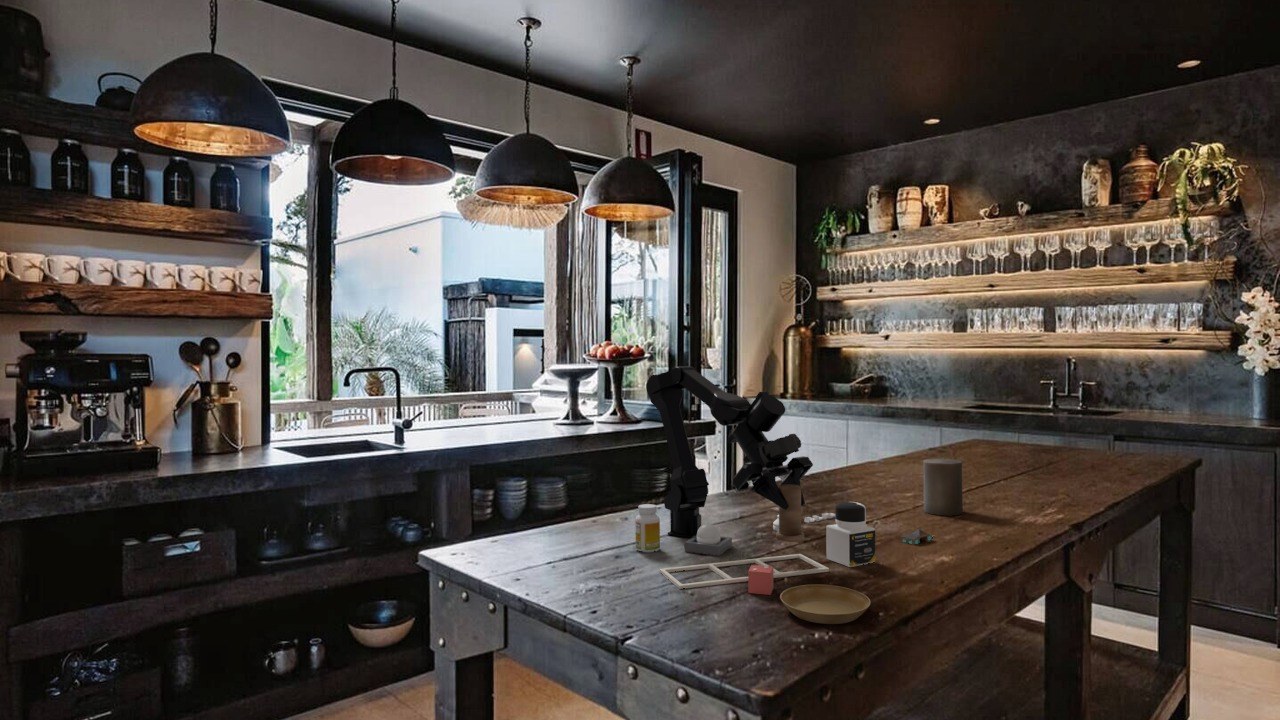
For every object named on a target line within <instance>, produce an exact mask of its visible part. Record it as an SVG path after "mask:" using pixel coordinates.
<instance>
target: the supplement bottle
mask: <svg viewBox="0 0 1280 720" xmlns="http://www.w3.org/2000/svg"><path fill="white" fill-rule="evenodd" d="M637 507H638V510H637V511H638V515H636V517H635V550H636V549H637V550H639V551H644V552H643V553H655V552H654V551H656V552H658V551H659V550H660V548H661V532H660V531H661V528H660V527H661V523H660V522H661V521H660V517H659V515H658V514H656V513H657V509H658V508H657V505H656V504H649V503H645V504H639V505H638V506H637ZM637 550H636V551H637ZM639 551H638V552H639Z"/></svg>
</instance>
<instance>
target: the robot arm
mask: <svg viewBox="0 0 1280 720" xmlns="http://www.w3.org/2000/svg"><path fill="white" fill-rule="evenodd" d="M645 388H646V391H647V395H648V397H649V401H650V403H651V404H652V406H654V407H655V409H656V410H658V411H659V414H660V419H661V422H662V426H663V431H664V433H665V439H666V443H667V448H668V451H669V456H670V459H671V463H672V467H673V470H672V473H671V477H670V481H669V482H670V491H669V492H668V493H667V494H666V496H665V497H664V499H663V505H664V509H665V510H668V511H670V515H669V516H670V517H669V518H670V522H669V523H670V525H669V526H670V531H668V532H667V535H668V536H674V537H683V538H690V539H691V538H693V537H694V536H696V535H697V531H698V529H699V528H700V526H702V514H700V508H704V507H705V505H706V500H707V497H708V494H709V486H710V483H709V482H708V478H707V475H706V470H705V468H699V467H697V465H696V464H695V462H694V459H693V455H692V451H691V447H690V444H689V440H688V435H687V431H686V427H685V424H684V420H683V415H682V410H681V407H680V406H681V402H682V399H683V396H684V395H683V394H684V392H683V390H687V391H688V392H689V393H691V394H692V395H693V396H695V397H696V398H697V399H698V400H700V401H701V402H702V403H703V404H705V405H706V406H707V407H708V408H709V410H710V414H711V416H712V417H713V418H714V419H715V420H716V421H717V423H718V424H719V425H721V426H724V427H725V426H726V427H727V426H735V425H736V426H735V428H733V429H731V430H729V431H728V436H727V443H728V444H731V443H733V444H734V443H737V444H738V445H739V447H740V449H741V450H742V452H743V453H744V455H745V457H744V458H743V461H744V462H745V464H743V465H742V466H741V467H740V469H739V470H738V471H737V472H736V474H735V475H734V476H733V479H732V484H733V486H734V488H735V490H736V491H737V492H742V491H743V492H744V491H747V490H748V489H749V486H750V484H749V481H751V482H752V483H751V484H752V487H751V489H750V491H751V492H752V493H756V494H757V495H759V496H761V497H763V498H764V499H767V500H768V501H770V502H772V503H773V504H774V505H777V507H779V506H780V507H781V508H783V509H785V510H786V509H787V508H788V507H789V506H788V504H787V501H786V499H785V498H784V496H783V494H782V492H781V491H780V489H779V485H778V484H777V482H776V481H777V480H776V478H777V477H778V478H779V479H780V480H781V484H780V485H784V484H792V485H799V486H801V487H802V484H801V479H803V478H804V476H805V475H806V474H807V472H809V471H810V469H811V468H812V467H813V466H814V463H813V462H812V461H811V459H810V457H809V456H796V457H792V458H791V459H790V460H789V457H788V456H789V455H791V454H794V453H797V452H799V451H800V449H801V447H802V440H801V439H800V437H798V435H797V434H796V433H790V434H788V435H786V436H782V437H779V438H776V439H774V440H769V439H768V438H767V437H766V435H765V434H764V432H765V433H768V432H770V431H771V430H772V429H773V428H774V427H775V425H776V424H777V423H778V422H779V420H780V419H781V417H783V415H784V414H785V412H786V407H785V405H784V403H783V402H782V400H781V401H780V400H779V399H778V398H776V397H775V396H773V395H770V394H769V393H768V391H765V390H764V391H759V392H758V393H757V394H756V396H755V399H754V400H753V401H752V402H751V403H750V402H749V400H748V399H746V398H744V397H742V396H740V395H738V394H733V393H730V392H726V391H724V390H723V389H722V388H720V387H719V386H717V385H716V384H715V383H713V382H711V381H710V380H709V379H708V378H706V377H705V376H703V375H702V374H701V373H700V372H698V371H697V369H696V368H695V367H693V366H691V365H689V366H688V365H687V366H686V365H685V366H683V365H682V366H676V367H674V368H672V369H670V370H668V371H665V372H662V373H658V374H652V375H650V376H649V377H648V380H647V381H646V384H645ZM787 460H789V462H788V463H787V464H786V465H785V464H784V463H785V462H786V461H787ZM805 503H806V502H805V498H804V494H803V490H802V488H801V507H803V506H804V505H806V504H805Z"/></svg>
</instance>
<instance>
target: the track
mask: <svg viewBox="0 0 1280 720" xmlns="http://www.w3.org/2000/svg"><path fill="white" fill-rule="evenodd" d="M791 559H792V560H793V559H800V560H802V561H805V562H806V563H807V564H810V565H812V566H814V567H816V568H811V569H809V568H807V569H800V570H793V571H784V572H783V571H782V572H780V571H779V570H777V569H775V568H774V567H773V579H776V578H786V577H793V576H802V575H809V574H812V575H813V574H818V573H828V572H830V568H829V567H827V566H825V565H824V564H821V563H819V562H818V561H815V560H813V559H812V558H809V557H807V556H805V555H803V554H802V553H794V554H787V555H786V554H784V555H778V556H768V557H767V556H766V557H759V558H758V557H756V558H749V559H741V560H740V559H739V560H730V561H721V562H720V561H719V562H713V563H704V564H701V563H700V564H695V565H694V564H693V565H684V566H683V565H682V566H675V567H674V566H673V567H665V568H659V571H658V572H659V574H661V573H662V574H663V575H662V574H661V575H662V576H664V577H665V578H666V579H667V580H668V579H669V580H668V581H670V582H671V583H672V584H673V585H674V586H675V587H676V588H677V589H679V590H683V588H685V589H690V588H691V589H692V588H693V589H694V588H700V587H701V588H702V587H709V586H710V587H711V586H716V585H726V584H734V583H742V582H748V576H741V577H740V576H739V577H732V576H730V575H729V574H727V573H726V572H724V571H723V570H722V569H719V568H720V567H728V566H731V567H732V566H739V565H746V564H748V565H749V564H755V565H761V566H770V565H769V564H767V562H774V561H785V560H791ZM765 562H766V563H765ZM702 569H709V570H711V571H713V572H714V573H716V574H717V576H719V577H721V578H723V579H713V580H707V581H697V582H690V583H689V582H688V583H681V582H680V581H679V580H678V579H676V578H675V577H674V576H673V575H672V574H670V573H675V571H676V572H682V571H683V570H685V571H692V570H693V571H694V570H702ZM683 572H684V571H683Z"/></svg>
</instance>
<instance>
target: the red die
mask: <svg viewBox="0 0 1280 720" xmlns="http://www.w3.org/2000/svg"><path fill="white" fill-rule="evenodd" d="M773 568H774V566H772V565H769V566H761V565H758V564H751V566H750V568H749V569H748V573H747V574H748V576H747V577H748V581H747V582H748V585H747V586H748V587H747V588H748V589H747V590H748V591H747V592H748V594H757V595H769V596H771V595H772V593H773V590H774V578H773Z"/></svg>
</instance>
